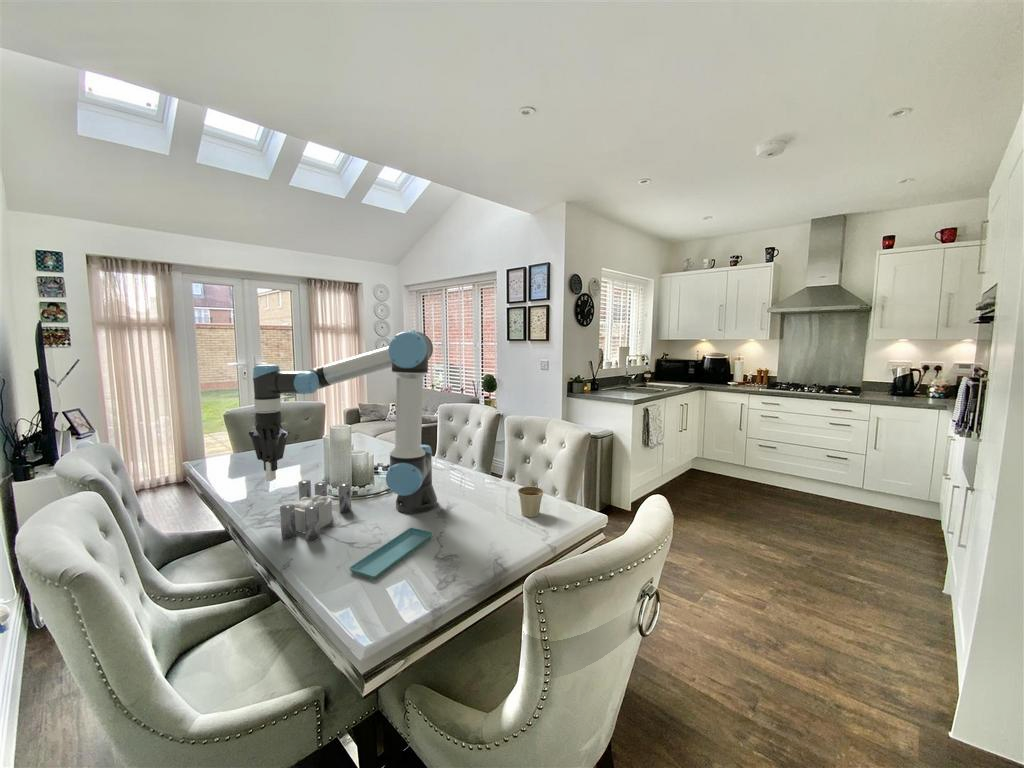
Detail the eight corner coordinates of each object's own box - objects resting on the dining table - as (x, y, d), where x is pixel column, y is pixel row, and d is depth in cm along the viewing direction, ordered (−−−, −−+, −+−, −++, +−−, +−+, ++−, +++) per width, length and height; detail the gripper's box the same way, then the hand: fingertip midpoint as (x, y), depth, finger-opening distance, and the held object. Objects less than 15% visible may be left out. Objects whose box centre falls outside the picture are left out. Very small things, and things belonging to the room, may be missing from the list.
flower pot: (549, 513, 148) (549, 490, 148) (532, 522, 142) (532, 497, 141) (529, 506, 155) (529, 484, 154) (512, 514, 148) (512, 490, 147)
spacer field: (355, 507, 153) (354, 481, 152) (315, 541, 127) (314, 510, 126) (303, 505, 155) (302, 479, 154) (254, 538, 129) (252, 507, 128)
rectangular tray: (374, 584, 106) (374, 574, 106) (348, 575, 110) (347, 566, 109) (434, 540, 130) (434, 532, 129) (410, 534, 133) (410, 526, 133)
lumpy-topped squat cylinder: (285, 528, 137) (284, 502, 136) (318, 513, 148) (317, 490, 147) (307, 534, 132) (306, 508, 131) (340, 518, 144) (339, 494, 143)
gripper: (293, 409, 141) (296, 477, 143) (257, 408, 142) (260, 475, 144) (279, 413, 133) (282, 484, 136) (241, 412, 134) (245, 482, 137)
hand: (271, 479), depth 140 cm, fingers closed
